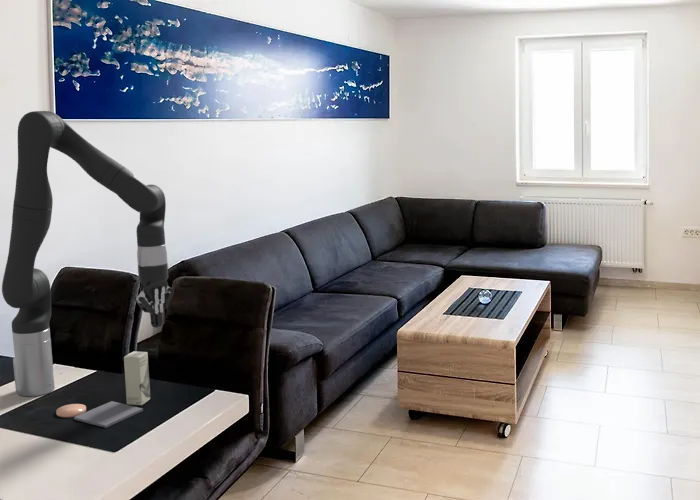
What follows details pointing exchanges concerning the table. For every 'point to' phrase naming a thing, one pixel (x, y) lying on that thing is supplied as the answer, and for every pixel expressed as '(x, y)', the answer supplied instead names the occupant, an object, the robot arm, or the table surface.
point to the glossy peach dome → (71, 410)
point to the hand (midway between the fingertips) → (156, 326)
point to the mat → (108, 414)
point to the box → (137, 378)
